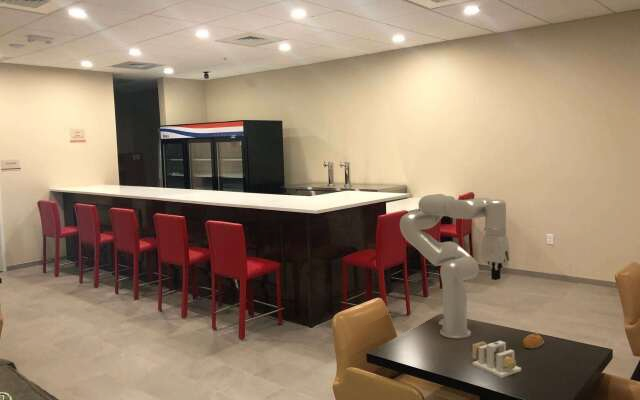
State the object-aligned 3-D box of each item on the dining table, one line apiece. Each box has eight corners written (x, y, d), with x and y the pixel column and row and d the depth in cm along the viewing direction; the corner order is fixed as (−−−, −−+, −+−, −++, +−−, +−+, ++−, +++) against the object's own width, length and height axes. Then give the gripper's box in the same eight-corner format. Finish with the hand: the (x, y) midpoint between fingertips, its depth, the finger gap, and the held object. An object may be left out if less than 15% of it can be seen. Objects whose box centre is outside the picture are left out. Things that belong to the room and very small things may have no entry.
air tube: (472, 357, 187) (472, 344, 187) (482, 354, 190) (482, 341, 190) (507, 372, 174) (507, 358, 174) (517, 368, 177) (517, 354, 176)
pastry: (535, 351, 195) (535, 341, 195) (518, 347, 200) (518, 338, 199) (544, 344, 202) (544, 334, 202) (527, 340, 206) (527, 331, 206)
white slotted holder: (472, 365, 185) (472, 340, 184) (491, 358, 190) (491, 335, 189) (501, 377, 173) (501, 352, 173) (521, 370, 178) (521, 345, 178)
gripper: (473, 231, 201) (474, 277, 202) (504, 235, 188) (505, 284, 189) (487, 229, 204) (487, 274, 206) (518, 233, 191) (518, 281, 193)
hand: (496, 279), depth 198 cm, fingers closed
